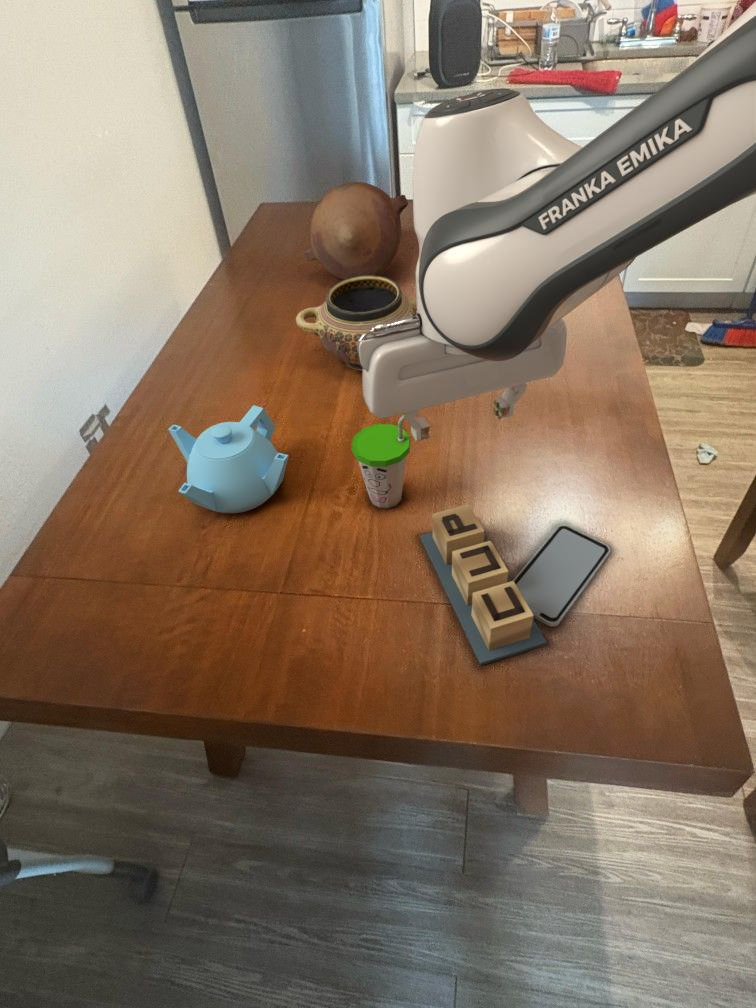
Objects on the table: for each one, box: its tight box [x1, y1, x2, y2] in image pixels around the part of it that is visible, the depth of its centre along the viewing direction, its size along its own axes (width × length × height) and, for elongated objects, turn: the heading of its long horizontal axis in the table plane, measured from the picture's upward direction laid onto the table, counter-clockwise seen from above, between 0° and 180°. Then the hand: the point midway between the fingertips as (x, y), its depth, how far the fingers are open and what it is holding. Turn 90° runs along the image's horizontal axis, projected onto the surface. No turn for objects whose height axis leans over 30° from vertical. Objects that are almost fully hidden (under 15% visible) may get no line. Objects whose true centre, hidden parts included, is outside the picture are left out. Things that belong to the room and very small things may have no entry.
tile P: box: [431, 503, 485, 565], centre depth 77 cm, size 5×5×5 cm
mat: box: [419, 531, 547, 666], centre depth 74 cm, size 20×8×1 cm, turn 17°
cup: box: [351, 415, 412, 509], centre depth 81 cm, size 8×8×15 cm
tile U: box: [452, 540, 509, 605], centre depth 72 cm, size 5×5×5 cm
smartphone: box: [512, 524, 611, 627], centre depth 75 cm, size 7×1×15 cm
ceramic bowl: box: [295, 275, 417, 372], centre depth 108 cm, size 24×18×15 cm
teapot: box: [168, 404, 289, 514], centre depth 87 cm, size 15×15×11 cm
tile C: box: [471, 580, 534, 650], centre depth 68 cm, size 5×5×5 cm
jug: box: [304, 181, 409, 281], centre depth 133 cm, size 20×20×30 cm
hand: (462, 425), depth 64 cm, fingers open, 8 cm apart
